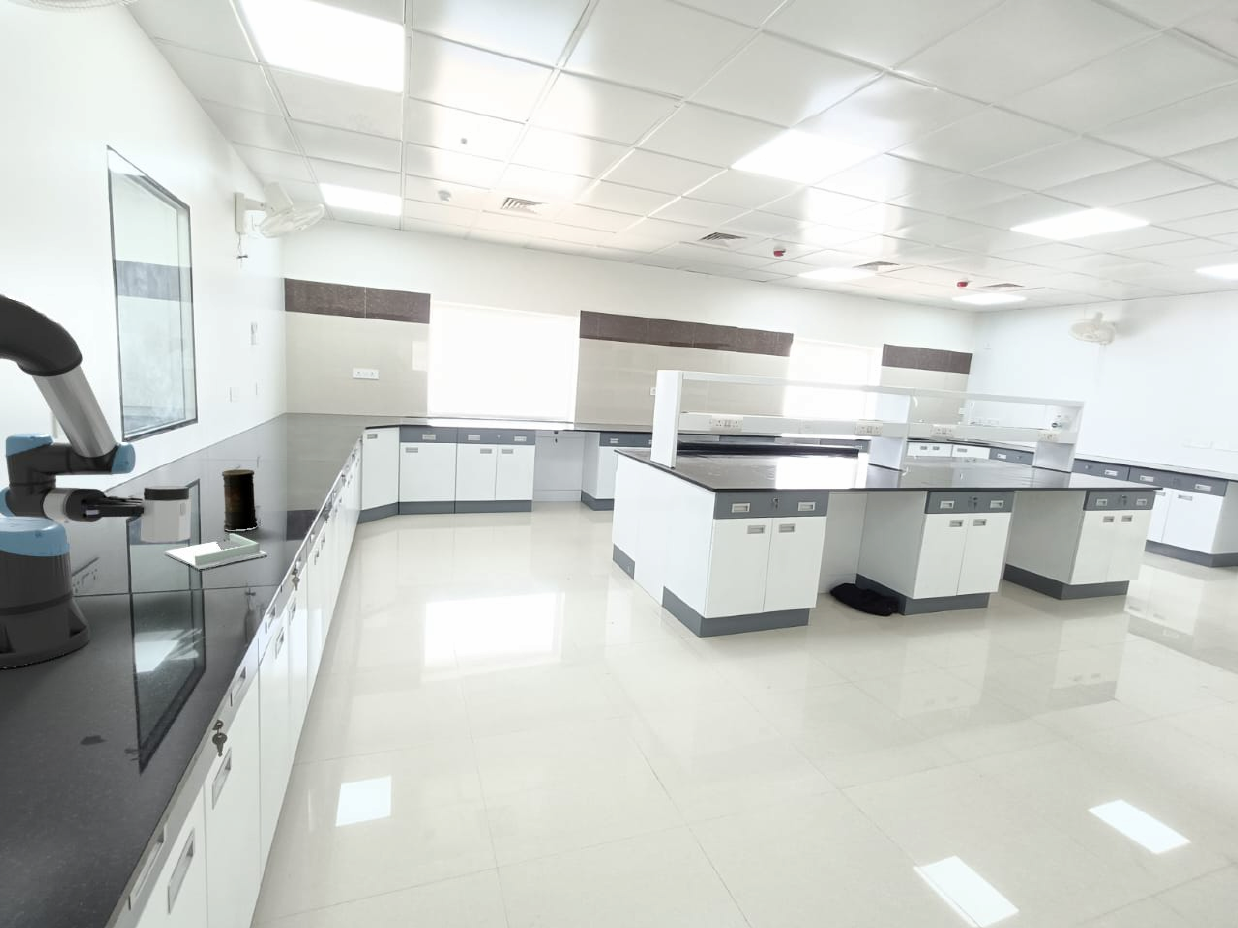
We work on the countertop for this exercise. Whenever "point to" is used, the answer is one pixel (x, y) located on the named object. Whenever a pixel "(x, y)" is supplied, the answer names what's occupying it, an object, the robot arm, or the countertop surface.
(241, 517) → the container
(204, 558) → the holder
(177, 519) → the jar
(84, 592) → the countertop surface
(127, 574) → the countertop surface
